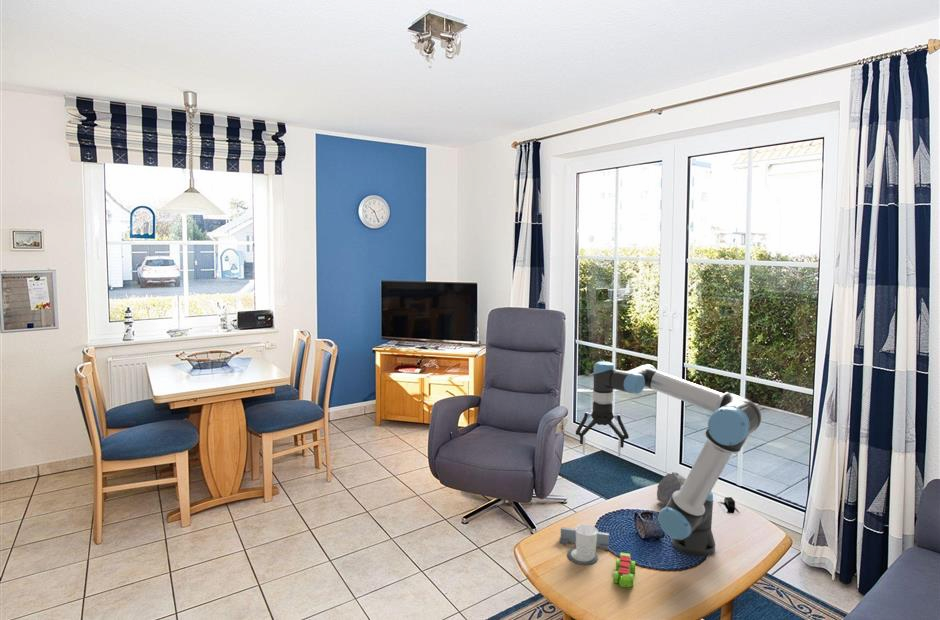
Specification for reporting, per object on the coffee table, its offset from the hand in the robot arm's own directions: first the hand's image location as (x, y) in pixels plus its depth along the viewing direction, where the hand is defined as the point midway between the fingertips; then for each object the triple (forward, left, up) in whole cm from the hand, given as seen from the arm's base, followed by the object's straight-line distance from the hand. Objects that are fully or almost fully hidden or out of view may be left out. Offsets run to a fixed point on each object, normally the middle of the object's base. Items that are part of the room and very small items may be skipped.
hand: (601, 453), depth 222 cm
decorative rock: (-31, -27, -32) cm, 52 cm away
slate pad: (+5, +22, -31) cm, 39 cm away
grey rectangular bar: (+5, +13, -31) cm, 34 cm away
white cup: (+4, +22, -31) cm, 38 cm away
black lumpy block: (-53, -32, -32) cm, 70 cm away
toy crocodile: (-10, +30, -32) cm, 45 cm away
